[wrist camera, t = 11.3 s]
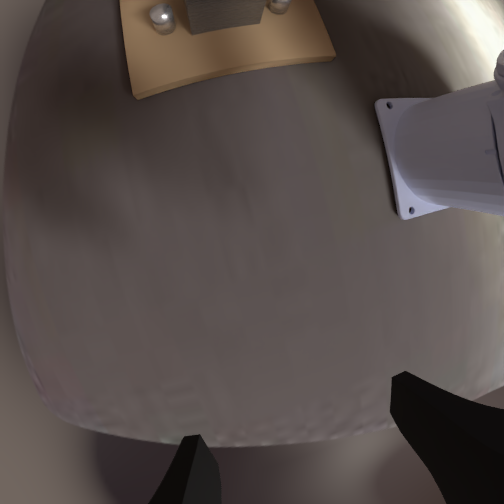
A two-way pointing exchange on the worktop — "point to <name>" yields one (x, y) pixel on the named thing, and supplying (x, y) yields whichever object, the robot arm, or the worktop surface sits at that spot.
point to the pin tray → (216, 43)
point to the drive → (222, 14)
